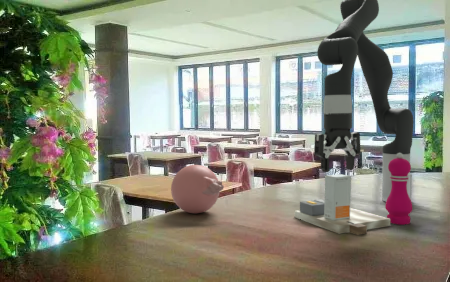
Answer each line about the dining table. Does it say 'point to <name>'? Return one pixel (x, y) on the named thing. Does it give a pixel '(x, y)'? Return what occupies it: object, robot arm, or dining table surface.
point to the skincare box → (337, 197)
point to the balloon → (195, 189)
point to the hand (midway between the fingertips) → (337, 170)
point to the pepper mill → (399, 191)
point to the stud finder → (312, 207)
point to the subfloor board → (347, 222)
